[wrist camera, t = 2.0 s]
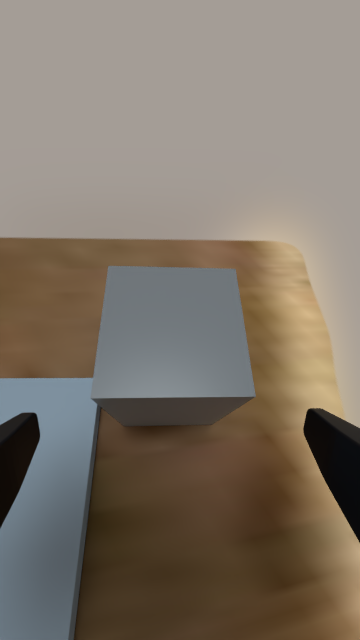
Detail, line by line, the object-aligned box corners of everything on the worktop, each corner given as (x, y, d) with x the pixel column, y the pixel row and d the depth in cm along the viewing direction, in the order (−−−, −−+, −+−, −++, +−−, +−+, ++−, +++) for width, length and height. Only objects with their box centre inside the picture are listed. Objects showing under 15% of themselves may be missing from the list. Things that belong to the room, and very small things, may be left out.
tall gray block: (211, 424, 19) (255, 396, 10) (124, 426, 19) (90, 398, 10) (205, 344, 22) (235, 269, 13) (129, 343, 22) (108, 265, 13)
